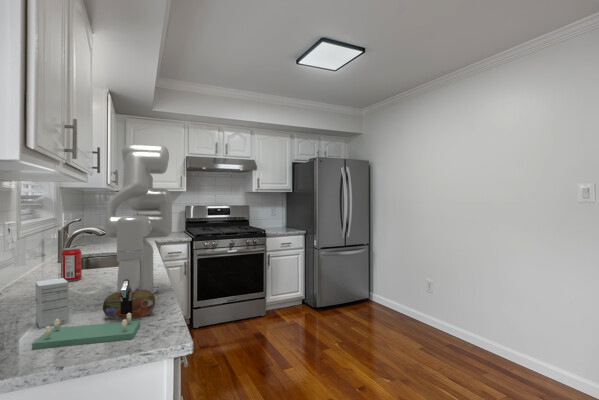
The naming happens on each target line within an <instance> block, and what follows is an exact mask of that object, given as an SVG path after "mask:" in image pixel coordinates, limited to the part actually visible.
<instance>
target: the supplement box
mask: <svg viewBox="0 0 599 400" xmlns="http://www.w3.org/2000/svg"><path fill="white" fill-rule="evenodd" d="M56 319H59V320H60V325H62V324H66V323H69V282H68V281H66V280H65V279H64V278H61V277H60V278H57V277H56V278H51V279H46V280H38V281H35V323H36V324H37V325H38V328H39V329H43V328H44V329H45V328H46V327H47V326H50V327H53V326H54V321H55V320H56Z"/></svg>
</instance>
